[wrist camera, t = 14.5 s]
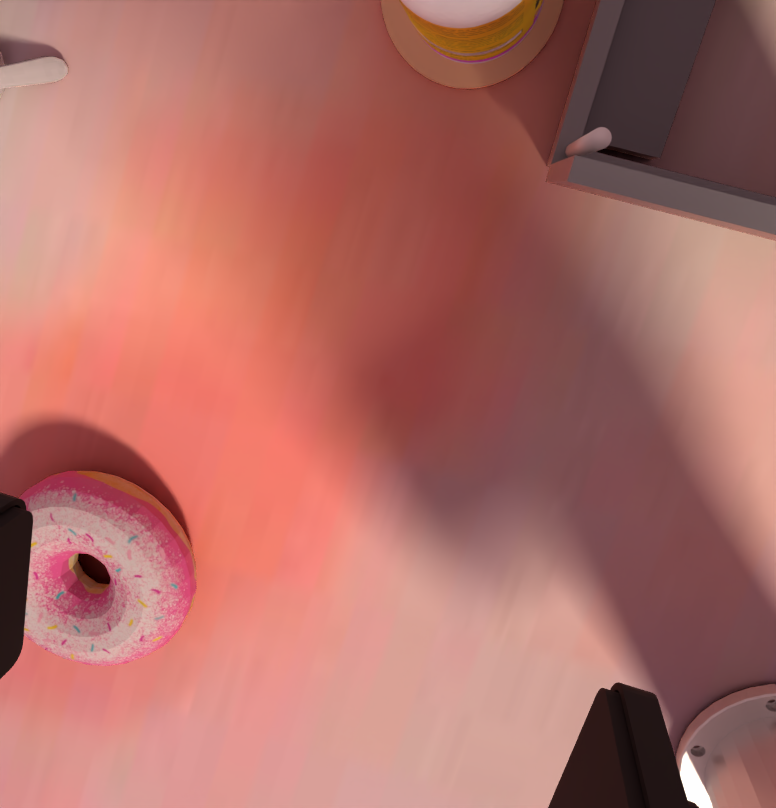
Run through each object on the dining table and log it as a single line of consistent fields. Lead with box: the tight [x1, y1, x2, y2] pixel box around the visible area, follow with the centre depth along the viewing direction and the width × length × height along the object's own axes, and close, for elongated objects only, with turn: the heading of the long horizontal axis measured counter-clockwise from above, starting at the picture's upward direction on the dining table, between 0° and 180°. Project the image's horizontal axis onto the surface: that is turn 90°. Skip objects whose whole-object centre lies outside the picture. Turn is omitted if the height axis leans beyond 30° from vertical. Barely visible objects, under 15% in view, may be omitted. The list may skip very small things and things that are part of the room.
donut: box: [19, 471, 196, 666], centre depth 46 cm, size 14×13×5 cm
